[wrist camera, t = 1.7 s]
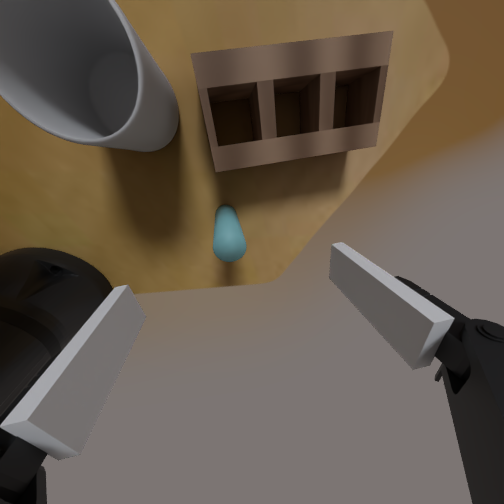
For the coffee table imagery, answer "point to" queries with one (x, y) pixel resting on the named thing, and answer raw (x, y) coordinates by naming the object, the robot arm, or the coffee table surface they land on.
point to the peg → (228, 235)
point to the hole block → (311, 95)
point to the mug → (84, 74)
